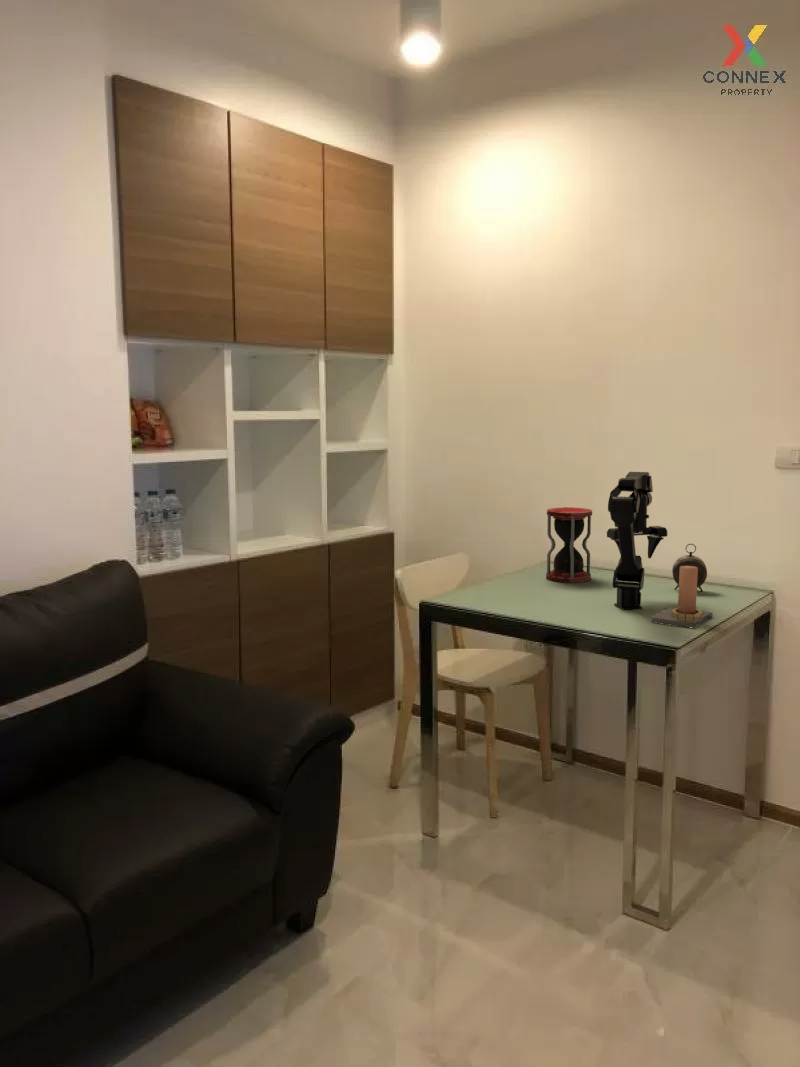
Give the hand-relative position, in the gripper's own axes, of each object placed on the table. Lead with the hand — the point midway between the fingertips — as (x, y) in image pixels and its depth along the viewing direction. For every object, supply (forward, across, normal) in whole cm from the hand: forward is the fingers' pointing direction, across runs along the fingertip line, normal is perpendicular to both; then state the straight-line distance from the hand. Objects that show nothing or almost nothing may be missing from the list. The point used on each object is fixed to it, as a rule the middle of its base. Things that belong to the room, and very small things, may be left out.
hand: (636, 559), depth 284 cm
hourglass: (+13, +7, -36) cm, 39 cm away
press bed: (+13, +1, +29) cm, 32 cm away
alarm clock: (+13, -22, -4) cm, 26 cm away
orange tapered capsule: (+11, -1, +29) cm, 31 cm away
